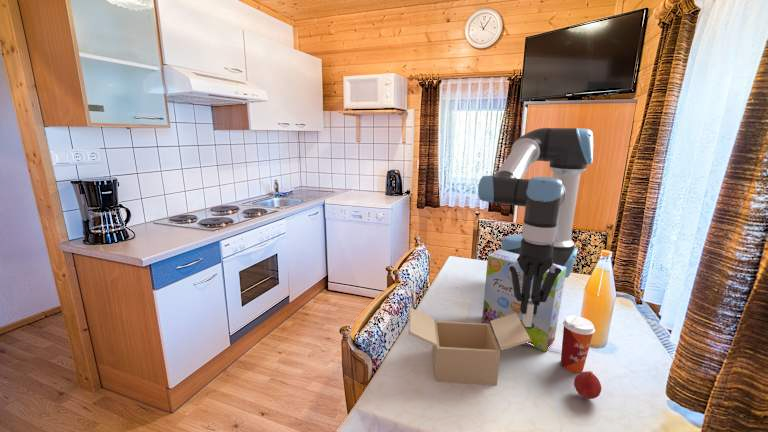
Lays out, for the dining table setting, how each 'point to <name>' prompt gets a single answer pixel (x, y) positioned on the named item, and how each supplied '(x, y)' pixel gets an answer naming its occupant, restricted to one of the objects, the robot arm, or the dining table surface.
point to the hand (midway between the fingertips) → (526, 324)
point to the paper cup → (576, 343)
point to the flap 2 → (509, 331)
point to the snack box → (505, 303)
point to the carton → (465, 353)
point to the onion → (587, 385)
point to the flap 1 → (422, 326)
